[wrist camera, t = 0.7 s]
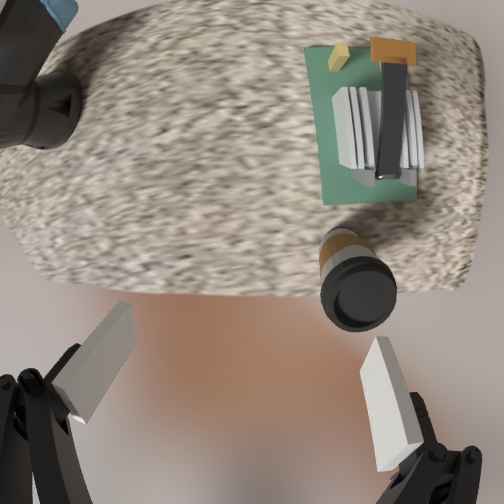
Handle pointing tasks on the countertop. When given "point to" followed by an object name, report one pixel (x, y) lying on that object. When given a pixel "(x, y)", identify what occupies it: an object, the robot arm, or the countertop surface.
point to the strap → (391, 100)
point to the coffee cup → (354, 282)
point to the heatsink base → (358, 128)
